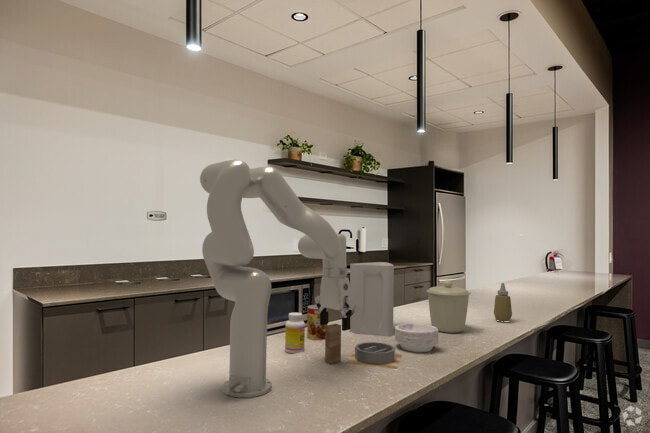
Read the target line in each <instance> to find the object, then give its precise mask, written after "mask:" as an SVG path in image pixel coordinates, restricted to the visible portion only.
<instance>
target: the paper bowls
mask: <svg viewBox="0 0 650 433" xmlns="http://www.w3.org/2000/svg"><path fill="white" fill-rule="evenodd" d="M439 332H440V331H438V328H436V327H434V326H432V325H430V324H429V325H428V324H423V323H401V324H397V325H395V326H394V341H395V342H397V343H398V344H399V345H400V348H401V349H403V350H405V351H408V352H413V353H426V352H431V351H432V349H433V348H434V346H435V345H438V344H439Z"/></svg>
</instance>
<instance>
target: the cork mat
mask: <svg viewBox="0 0 650 433" xmlns="http://www.w3.org/2000/svg"><path fill="white" fill-rule="evenodd" d="M402 356H403V353H399V352H398V353H397V352H395V360H394V362H392V363H389V364H382V365H375V364H367V363H363V362H360V361H358V360H356V357H355V350H354V351H353V353H351V355H350V357H349V358H348V359H347V360H346V362H345V364H347V365H348V364H349V365H357V366H367V367H375V368H377V367H378V368H385V369H395V370H397V369H398V368H399V364H400V362H401V359H402Z"/></svg>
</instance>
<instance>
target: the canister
mask: <svg viewBox="0 0 650 433" xmlns="http://www.w3.org/2000/svg"><path fill="white" fill-rule="evenodd" d="M425 292H426V293H427V298H428V308H429V317H430V323H431V326H434V327H436V328H438V331H439V332H441V333H447V334H453V333H454V334H456V333H461V332H462V331H464V329H465V327H466V321H467V313H468V308H469V307H468V305H469V297H470V295H471V292H470V291H468V290H467V289H465V288H462V287H459V286H453V281H451V280H445V281H444V282H443V286H442V285H441V286H440V285H439V286H437V285H436V286H432V287H430V288H428V289H426V291H425Z"/></svg>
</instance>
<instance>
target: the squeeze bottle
mask: <svg viewBox="0 0 650 433" xmlns="http://www.w3.org/2000/svg"><path fill="white" fill-rule="evenodd" d="M500 284H501V285H500V288H499V290H497V295H495V296H494V297H495V298H494V308H493V315H494V318H495V321H496V320H499V321H510V322H511V319H512V316H513V310H512V302H511V300H512V299H511V296H510V295H509V290H506V286H505V282H501V283H500Z"/></svg>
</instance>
